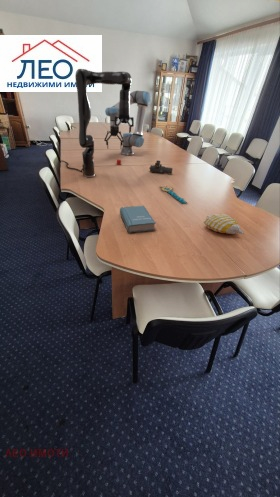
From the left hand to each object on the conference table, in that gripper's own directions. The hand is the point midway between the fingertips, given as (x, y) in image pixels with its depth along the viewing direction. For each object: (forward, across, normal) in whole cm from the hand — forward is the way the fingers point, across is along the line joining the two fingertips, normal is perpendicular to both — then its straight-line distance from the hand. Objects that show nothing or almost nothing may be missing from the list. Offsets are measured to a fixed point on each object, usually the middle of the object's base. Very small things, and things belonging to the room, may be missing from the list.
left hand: (124, 132), depth 168 cm
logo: (+39, +40, -23) cm, 61 cm away
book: (+39, +9, -68) cm, 79 cm away
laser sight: (+39, +37, +31) cm, 62 cm away
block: (+39, -5, +53) cm, 66 cm away
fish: (+39, +62, -76) cm, 105 cm away
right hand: (+25, -10, +61) cm, 67 cm away
